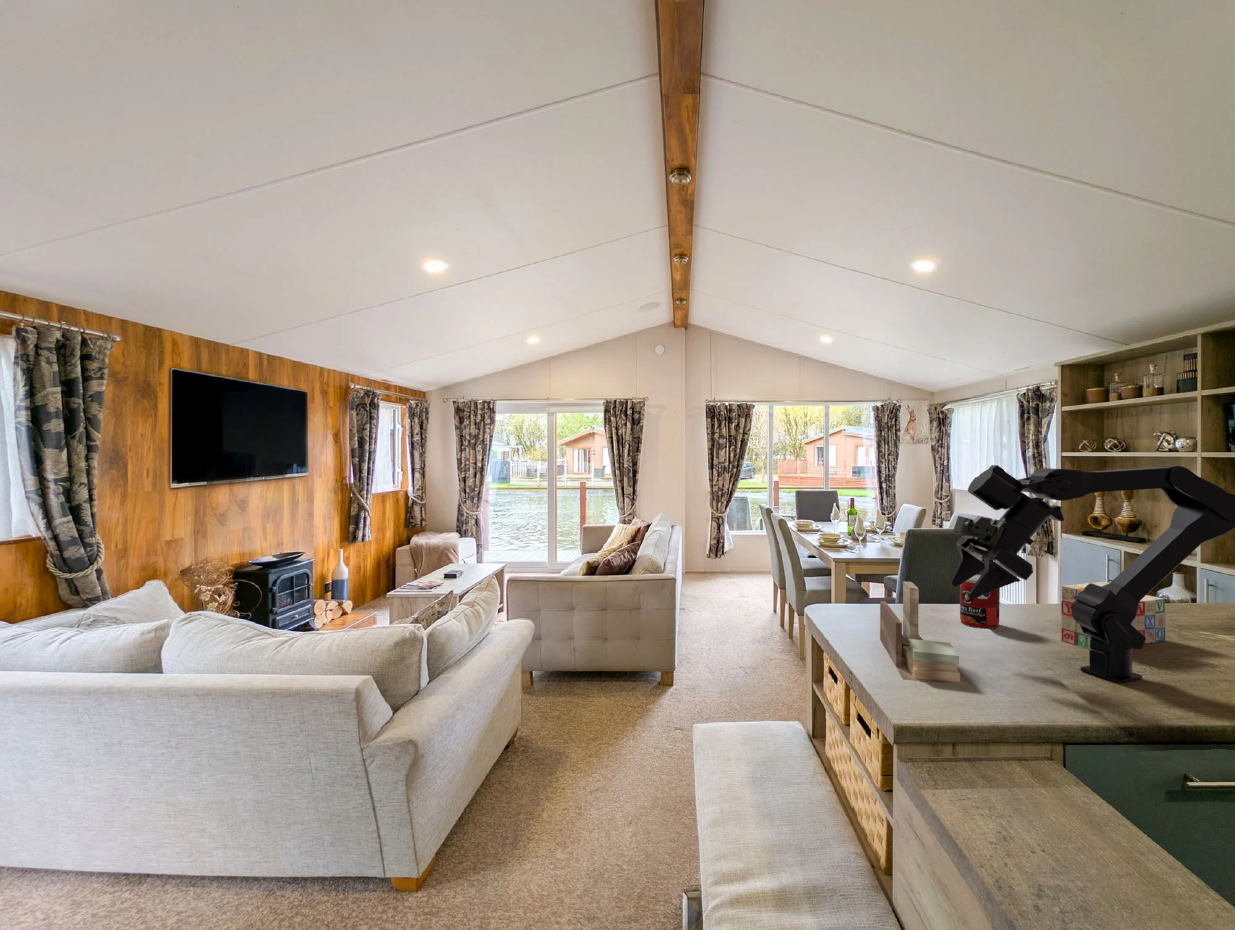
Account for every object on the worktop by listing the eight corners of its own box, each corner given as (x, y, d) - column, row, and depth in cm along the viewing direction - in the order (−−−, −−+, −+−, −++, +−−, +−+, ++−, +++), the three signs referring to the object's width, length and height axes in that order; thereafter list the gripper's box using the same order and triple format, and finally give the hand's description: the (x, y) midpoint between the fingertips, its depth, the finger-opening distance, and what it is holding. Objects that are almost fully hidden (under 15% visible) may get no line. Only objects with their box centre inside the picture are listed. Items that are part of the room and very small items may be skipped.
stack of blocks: (1132, 633, 128) (1133, 578, 128) (1166, 642, 122) (1166, 584, 122) (1060, 641, 122) (1061, 584, 122) (1091, 651, 116) (1092, 591, 116)
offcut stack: (948, 665, 104) (948, 640, 104) (963, 682, 96) (963, 656, 96) (901, 661, 106) (901, 637, 106) (912, 678, 98) (912, 652, 98)
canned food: (952, 621, 137) (952, 575, 137) (977, 618, 140) (977, 573, 140) (981, 630, 130) (981, 582, 130) (1007, 627, 132) (1007, 579, 132)
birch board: (911, 646, 115) (911, 581, 115) (918, 656, 109) (918, 588, 109) (902, 645, 115) (903, 581, 115) (909, 655, 109) (909, 587, 109)
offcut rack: (935, 650, 116) (936, 604, 116) (971, 694, 95) (972, 637, 95) (880, 646, 119) (880, 601, 119) (902, 687, 98) (903, 632, 98)
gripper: (959, 496, 116) (910, 555, 118) (1001, 503, 98) (942, 573, 100) (1008, 529, 115) (957, 589, 117) (1060, 543, 96) (999, 614, 98)
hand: (962, 590), depth 108 cm, fingers open, 9 cm apart
